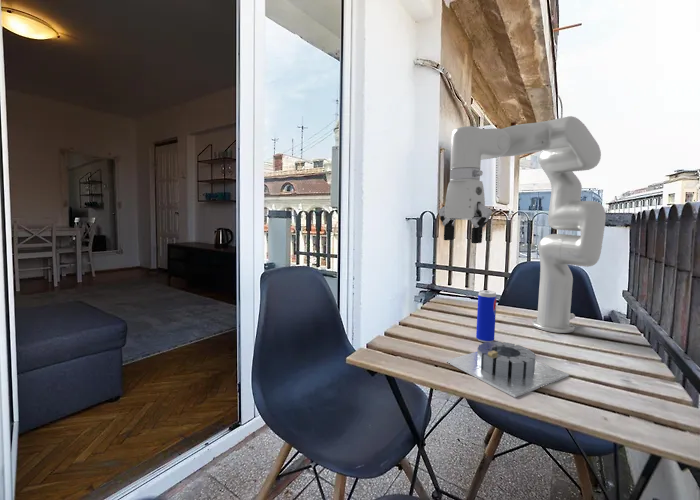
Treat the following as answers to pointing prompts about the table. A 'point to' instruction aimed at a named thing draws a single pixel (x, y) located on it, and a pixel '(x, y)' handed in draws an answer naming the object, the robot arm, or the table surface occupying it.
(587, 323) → the table surface
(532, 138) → the robot arm
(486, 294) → the beverage can
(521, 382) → the hub
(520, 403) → the table surface
